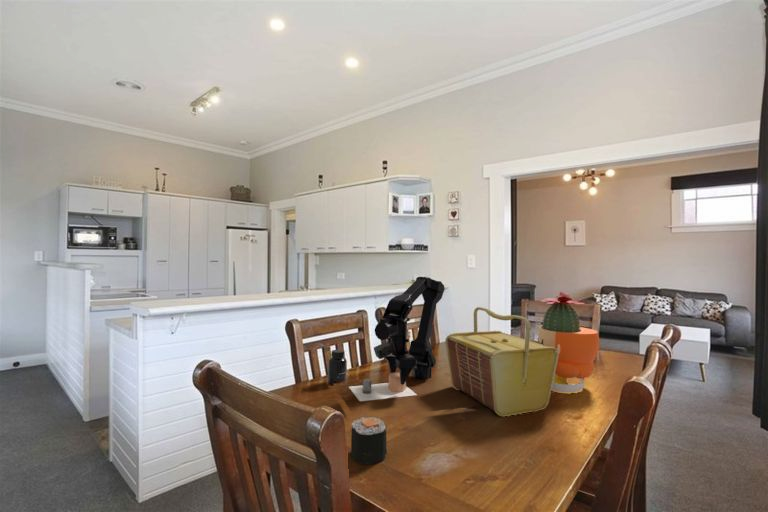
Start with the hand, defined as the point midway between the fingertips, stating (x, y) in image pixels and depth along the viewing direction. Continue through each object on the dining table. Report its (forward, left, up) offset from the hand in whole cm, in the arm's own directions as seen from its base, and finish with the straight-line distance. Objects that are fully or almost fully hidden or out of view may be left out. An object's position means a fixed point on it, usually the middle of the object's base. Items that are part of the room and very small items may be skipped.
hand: (397, 380), depth 134 cm
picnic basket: (-30, +15, -5) cm, 34 cm away
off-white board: (+6, 0, -5) cm, 7 cm away
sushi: (+22, +36, -5) cm, 43 cm away
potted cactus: (-65, +10, -5) cm, 66 cm away
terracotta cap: (0, 0, -3) cm, 3 cm away
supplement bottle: (+18, -16, -5) cm, 24 cm away
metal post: (+11, 0, -3) cm, 12 cm away
